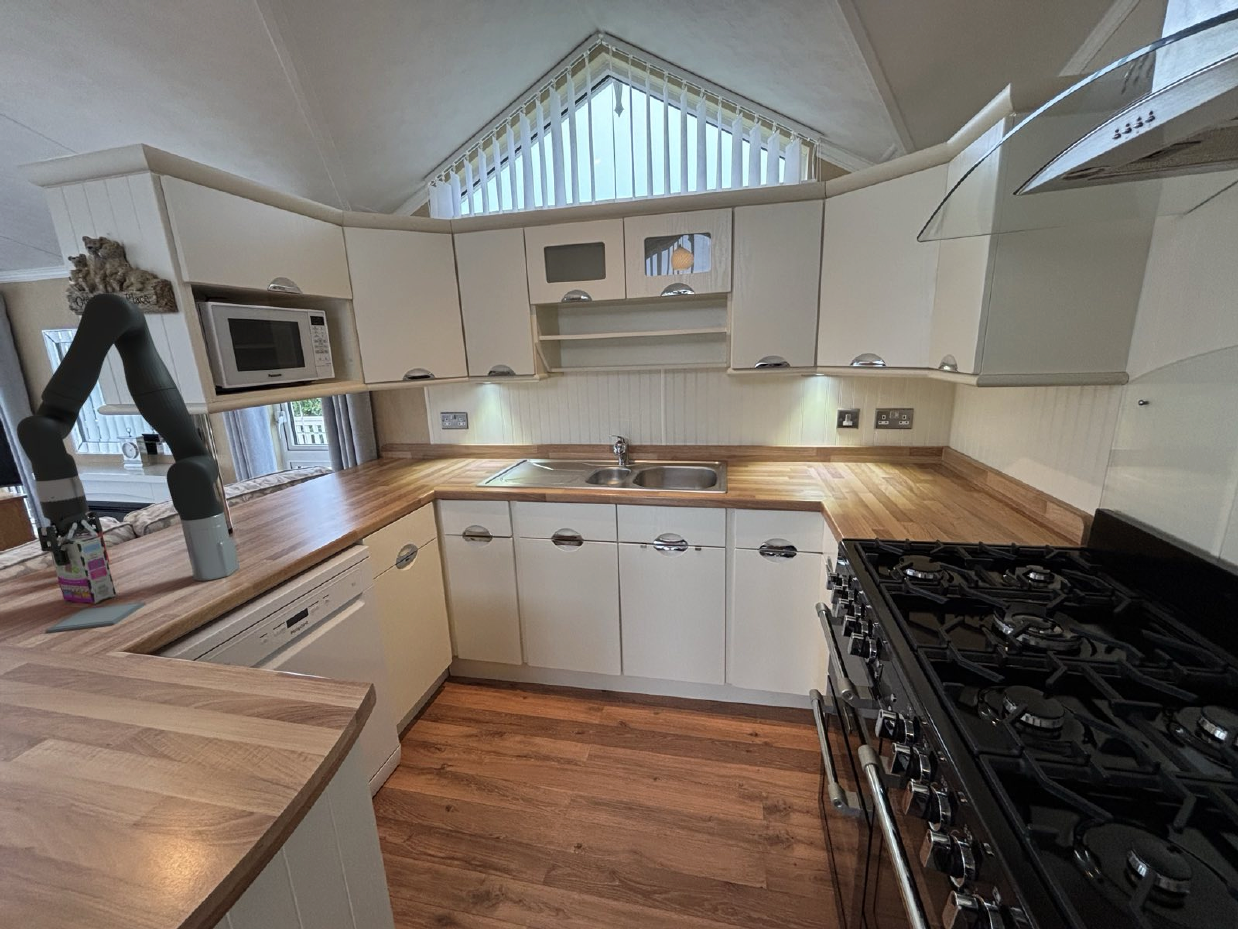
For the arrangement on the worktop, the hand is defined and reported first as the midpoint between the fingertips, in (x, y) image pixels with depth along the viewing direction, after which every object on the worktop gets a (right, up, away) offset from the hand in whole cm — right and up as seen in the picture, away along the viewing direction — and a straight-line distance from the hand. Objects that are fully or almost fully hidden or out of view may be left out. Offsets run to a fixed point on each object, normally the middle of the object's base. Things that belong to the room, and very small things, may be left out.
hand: (79, 558), depth 124 cm
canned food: (-22, -7, +24) cm, 33 cm away
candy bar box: (+1, -11, +2) cm, 11 cm away
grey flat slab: (+14, -12, -8) cm, 20 cm away
